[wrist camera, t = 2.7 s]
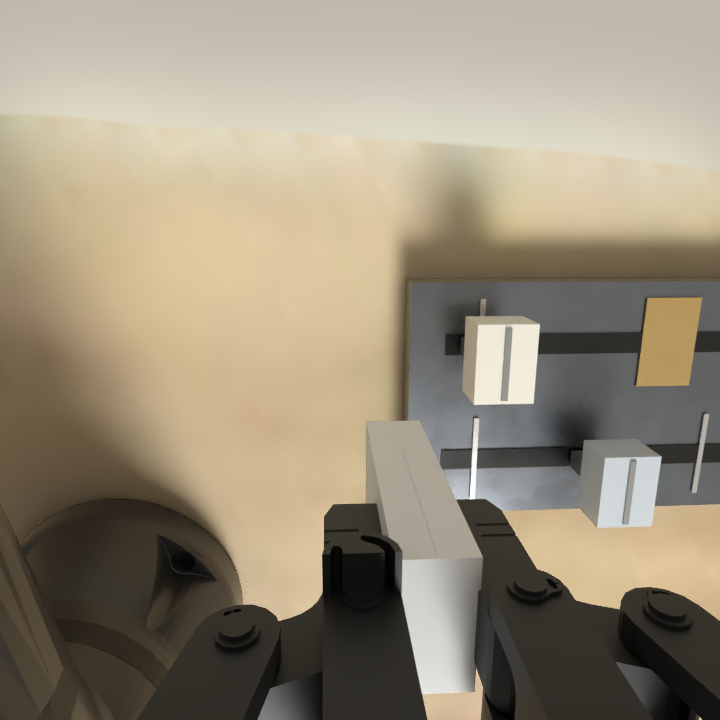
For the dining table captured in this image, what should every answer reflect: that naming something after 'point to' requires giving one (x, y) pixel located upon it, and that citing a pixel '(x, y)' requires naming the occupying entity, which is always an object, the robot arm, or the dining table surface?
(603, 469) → the fader grey
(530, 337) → the block
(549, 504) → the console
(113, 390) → the dining table surface
